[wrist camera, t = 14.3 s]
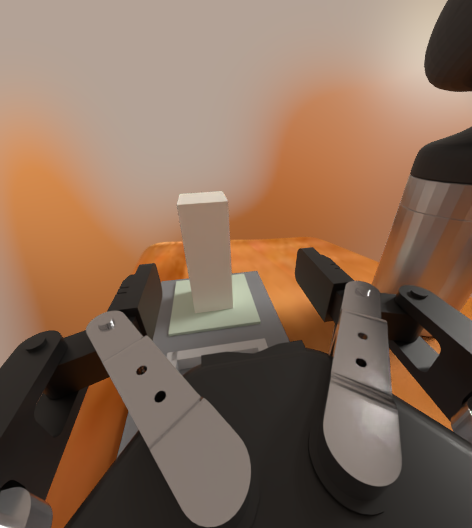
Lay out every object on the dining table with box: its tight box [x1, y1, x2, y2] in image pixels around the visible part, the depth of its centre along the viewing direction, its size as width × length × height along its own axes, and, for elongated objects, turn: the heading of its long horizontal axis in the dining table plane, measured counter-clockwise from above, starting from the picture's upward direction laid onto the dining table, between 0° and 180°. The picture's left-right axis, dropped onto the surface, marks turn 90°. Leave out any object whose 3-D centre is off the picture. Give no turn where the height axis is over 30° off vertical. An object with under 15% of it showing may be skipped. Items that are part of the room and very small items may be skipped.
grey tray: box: [117, 271, 290, 457], centre depth 24 cm, size 28×16×3 cm, turn 9°
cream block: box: [177, 191, 233, 313], centre depth 27 cm, size 5×5×14 cm
